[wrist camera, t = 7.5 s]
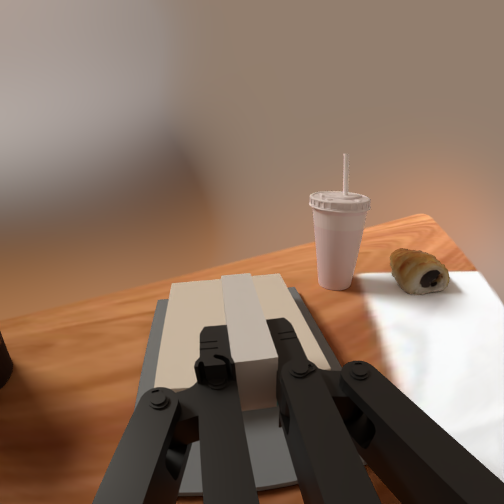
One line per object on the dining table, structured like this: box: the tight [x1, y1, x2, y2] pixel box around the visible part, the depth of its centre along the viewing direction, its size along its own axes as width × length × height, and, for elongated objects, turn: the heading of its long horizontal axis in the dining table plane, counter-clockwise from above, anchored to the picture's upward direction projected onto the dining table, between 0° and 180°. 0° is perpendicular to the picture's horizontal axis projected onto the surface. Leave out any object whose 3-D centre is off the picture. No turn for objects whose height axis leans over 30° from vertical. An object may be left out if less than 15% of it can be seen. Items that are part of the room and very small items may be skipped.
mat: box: [134, 287, 367, 496], centre depth 20 cm, size 14×20×1 cm
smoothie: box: [309, 154, 371, 290], centre depth 29 cm, size 6×6×14 cm
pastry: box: [390, 248, 450, 295], centre depth 31 cm, size 9×7×4 cm
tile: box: [154, 274, 331, 405], centre depth 21 cm, size 10×2×13 cm
